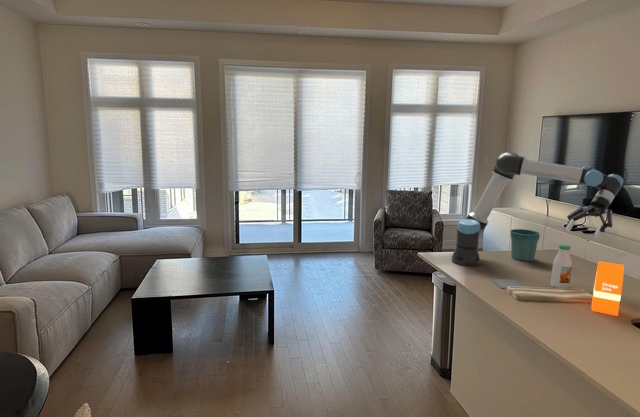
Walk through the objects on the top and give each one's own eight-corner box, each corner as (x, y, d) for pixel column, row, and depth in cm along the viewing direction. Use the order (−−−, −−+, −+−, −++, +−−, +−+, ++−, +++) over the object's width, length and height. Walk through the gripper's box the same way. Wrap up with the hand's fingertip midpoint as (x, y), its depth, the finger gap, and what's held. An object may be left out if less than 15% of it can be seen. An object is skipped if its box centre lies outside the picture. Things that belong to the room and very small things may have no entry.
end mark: (491, 279, 206) (491, 279, 206) (515, 280, 206) (516, 280, 206) (501, 288, 194) (501, 287, 194) (527, 289, 194) (527, 288, 194)
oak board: (505, 290, 192) (505, 285, 192) (580, 292, 192) (580, 288, 191) (516, 299, 180) (517, 295, 180) (596, 302, 180) (597, 298, 180)
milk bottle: (551, 287, 198) (556, 246, 194) (549, 282, 205) (554, 242, 201) (570, 290, 195) (575, 248, 192) (567, 285, 202) (572, 244, 199)
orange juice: (617, 316, 166) (625, 267, 163) (591, 310, 171) (598, 263, 168) (616, 309, 173) (623, 262, 170) (591, 304, 178) (597, 258, 174)
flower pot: (511, 261, 240) (514, 233, 238) (503, 253, 256) (506, 228, 254) (541, 263, 238) (545, 235, 235) (532, 255, 254) (535, 229, 251)
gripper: (632, 209, 198) (611, 243, 193) (578, 202, 220) (558, 233, 215) (628, 199, 195) (606, 233, 190) (573, 192, 216) (553, 223, 211)
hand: (580, 233), depth 202 cm, fingers open, 13 cm apart
